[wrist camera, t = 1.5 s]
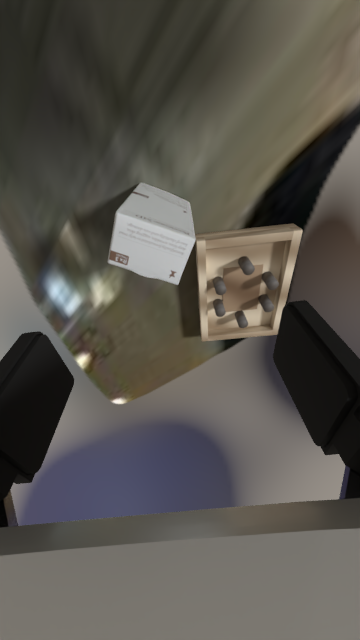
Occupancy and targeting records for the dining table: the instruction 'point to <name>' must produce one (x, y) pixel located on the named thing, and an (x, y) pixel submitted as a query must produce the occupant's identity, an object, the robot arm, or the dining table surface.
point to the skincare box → (152, 234)
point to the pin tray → (244, 280)
